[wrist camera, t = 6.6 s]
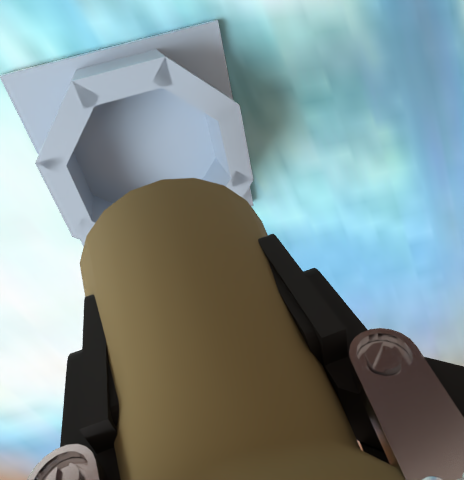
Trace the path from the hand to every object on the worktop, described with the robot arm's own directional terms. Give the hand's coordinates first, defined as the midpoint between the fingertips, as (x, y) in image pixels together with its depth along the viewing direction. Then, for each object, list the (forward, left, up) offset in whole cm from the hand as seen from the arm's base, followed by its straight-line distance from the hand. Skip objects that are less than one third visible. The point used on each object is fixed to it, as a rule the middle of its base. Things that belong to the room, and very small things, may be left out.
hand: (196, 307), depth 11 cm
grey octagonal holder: (0, 0, -15) cm, 15 cm away
